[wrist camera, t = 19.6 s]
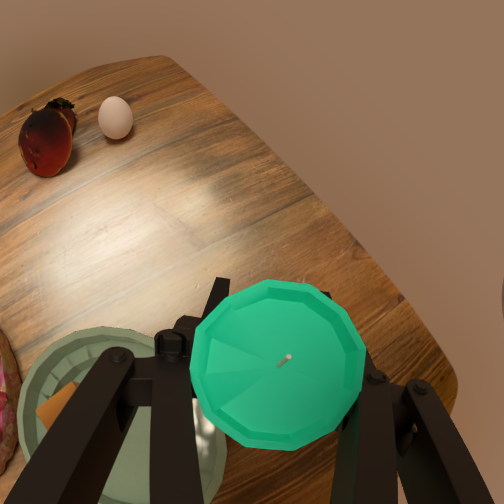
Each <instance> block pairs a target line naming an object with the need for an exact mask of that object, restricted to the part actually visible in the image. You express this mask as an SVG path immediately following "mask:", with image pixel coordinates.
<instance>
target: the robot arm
mask: <svg viewBox="0 0 504 504" xmlns="http://www.w3.org/2000/svg"><path fill="white" fill-rule="evenodd" d="M229 286H230V279H227V278H220V277H216V280H215V282H214V285H213V288H212V290H211V293H210V296H209V298H208V301H207V304H206V307H205V309H204V312H203V315H202V317H201V318H198V317H192V316H186V315H184V316H182V317H181V318H179V319H178V320H177V321H176V323H175V325H174V327H173V329H165V330H162V331H159V332H158V333H157V334H156V335H155V337H154V347H155V356H152V357H144V358H136V357H135V356H134V354H133V352H132V351H131V350H130V349H128V348H125V347H119V346H116V347H110V348H108V349H106V350H104V351H103V352H102V353H101V355H100V356H99V358H98V359H97V360H96V362H95V363H94V364H93V366H92V367H91V369H90V370H89V371H88V373H87V374H86V376H85V377H84V379H83V380H82V381H81V383H80V384H79V386H78V387H77V389H76V390H75V391H74V393H73V394H72V396H71V397H70V399H69V400H68V402H67V403H66V405H65V406H64V408H63V409H62V410H61V412H60V413H59V415H58V416H57V418H56V419H55V421H54V422H53V424H52V425H51V427H50V429H49V430H48V432H47V433H46V435H45V436H44V438H43V439H42V441H41V442H40V444H39V446H38V447H37V449H36V450H35V452H34V453H33V455H32V457H31V458H30V460H29V461H28V463H27V465H26V466H25V468H24V470H23V471H22V473H21V475H20V476H19V478H18V480H17V481H16V483H15V485H14V486H13V488H12V490H11V491H10V493H9V495H8V497H7V498H6V500H5V502H4V504H98V501H99V499H100V497H101V494H102V492H103V489H104V487H105V484H106V482H107V480H108V477H109V475H110V472H111V470H112V468H113V465H114V463H115V461H116V458H117V456H118V454H119V451H120V449H121V447H122V444H123V442H124V440H125V437H126V435H127V433H128V431H129V428H130V426H131V424H132V421H133V419H134V417H135V415H136V412H137V410H138V408H139V407H151V421H150V457H149V493H150V504H204V498H203V491H202V484H201V476H200V469H199V460H198V452H197V443H196V434H195V424H194V413H193V402H192V398H195V399H197V396H196V393H195V391H194V388H193V385H192V383H191V377H190V370H189V368H190V362H191V355H192V349H193V342H194V336H195V330H196V328H197V327H198V326H199V324H200V323H201V322H202V321H203V320H204V319H205V318H206V317H207V316H208V315H209V314H210V313H211V312H212V311H213V310H214V309H215V308H216V307H217V306H218V305H219V304H220V303H221V302H222V301H223V300H224V298H226V297H228V294H229ZM320 292H322V293H323V294H324V295H326V296H327V297H328V298H330V299H331V300H332V298H331V296H330V293H329V292H323V291H320ZM363 343H364V342H363ZM366 349H367V348H366ZM415 426H416V427H417V430H416V429H415ZM339 428H340V429H339ZM338 429H339V439H338V448H337V456H336V464H335V471H334V478H333V485H332V492H331V498H330V504H398V481H397V471H398V474H399V477H400V480H401V483H402V486H403V490H404V493H405V496H406V499H407V503H408V504H495V503H494V501H493V499H492V497H491V495H490V493H489V491H488V488H487V486H486V484H485V482H484V480H483V478H482V476H481V474H480V472H479V471H478V468H477V466H476V464H475V462H474V460H473V459H472V456H471V455H470V453H469V451H468V449H467V447H466V445H465V443H464V442H463V439H462V438H461V436H460V434H459V432H458V430H457V428H456V427H455V425H454V423H453V421H452V420H451V418H450V416H449V414H448V412H447V411H446V409H445V407H444V406H443V404H442V402H441V400H440V399H439V397H438V395H437V394H436V392H435V390H434V389H433V387H432V386H431V385H430V384H429V383H427V382H426V381H424V380H421V379H411V380H410V381H408V382H407V384H406V386H405V387H404V386H400V385H395V384H392V383H390V382H389V379H388V377H387V376H386V375H385V374H384V373H383V372H381V371H379V370H376V368H375V366H374V364H373V361H372V359H371V357H370V355H369V353H368V350H366V356H365V365H364V373H363V381H362V389H361V392H359V395H358V398H357V399H356V401H355V402H354V404H353V405H352V406H351V408H350V409H349V411H348V412H347V414H346V415H345V416H344V418H343V419H342V421H341V422H340V423H339V425H338V426H337V427H336V430H335V431H338Z"/></svg>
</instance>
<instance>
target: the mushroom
mask: <svg viewBox="0 0 504 504" xmlns="http://www.w3.org/2000/svg"><path fill="white" fill-rule="evenodd" d="M74 105H75V104H71V102H70V103H69V101H68V100H64V99H63V98H57V99H54V100H53V101H51V102H48V104H47V105H46V106H45V108H44V109H42V110H40V111H36V110H35V111H33V108H32V110H31V112H32V113H33V114H31V115H30V116H29V118H28V119H27V120H26V121H25V123H24V124H23V126H22V128H21V131H20V134H19V148H20V152H21V155H22V158H23V160H24V162H25V163H26V166H27V167H28V168H29V170H31V171H32V172H33V173H34V174H36V175H39V176H43V177H44V176H45V177H51V176H54V175H55V174H57V173H58V172H59V171H60V170H61V168H63V167H64V166H65V165H66V163H67V161H68V159H69V156H70V154H71V149H72V140H73V139H72V131H73V129H74V123H75V116H76V114H74V112H73V111H72V110H71V109H72V108H74Z"/></svg>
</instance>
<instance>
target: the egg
mask: <svg viewBox="0 0 504 504" xmlns="http://www.w3.org/2000/svg"><path fill="white" fill-rule="evenodd" d="M98 120H99V125H100V128H101V130H102V132H103V133H104V134H105V135H106V136H107V137H109V138H112V139H121V138H123V137H125V136H126V135H127V134H128V133H129V131H130V130H131V127H132V124H133V115H132V112H131V109H130V107H129V105H128V104H127V103H126V102H125V101H124V100H123V99H121V98H119V97H115V96H113V97H109V98H107V99H106V100H105V101H104V102H103V103H102V105H101V107H100V110H99V115H98Z"/></svg>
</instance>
